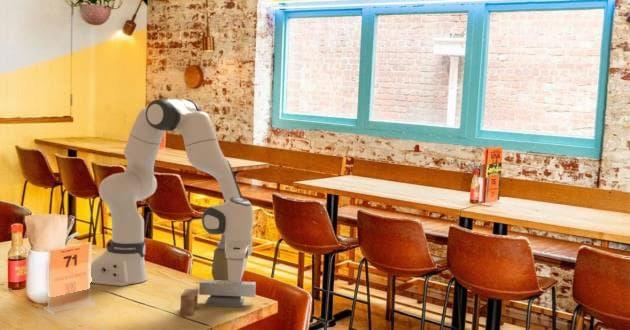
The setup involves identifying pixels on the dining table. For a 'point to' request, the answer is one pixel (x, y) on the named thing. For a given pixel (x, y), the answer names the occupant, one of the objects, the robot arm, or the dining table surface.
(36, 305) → the dining table surface
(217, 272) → the squeeze bottle
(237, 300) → the cradle
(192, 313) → the brown block
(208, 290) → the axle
